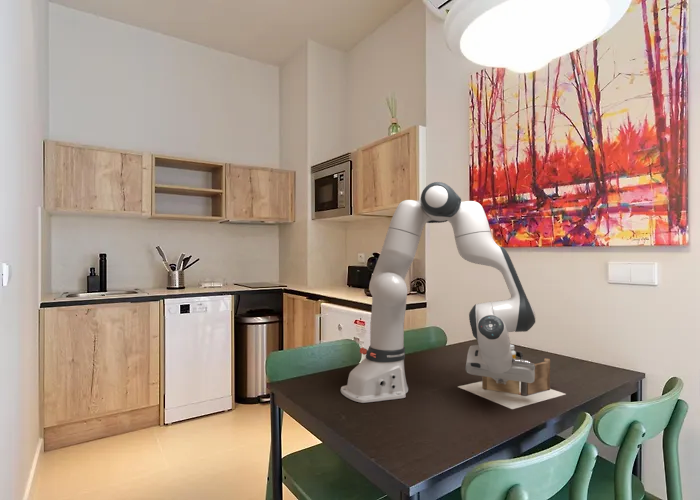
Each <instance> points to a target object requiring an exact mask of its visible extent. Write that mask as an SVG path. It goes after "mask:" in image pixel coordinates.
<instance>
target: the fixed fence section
mask: <svg viewBox="0 0 700 500" xmlns="http://www.w3.org/2000/svg"><path fill="white" fill-rule="evenodd" d="M543 359H544V360H543V361H542V362H538V363H534V365H535V370H534V371H535V380H534V382H532V383H527V382H521V395H522V396H527V395H530V394H533V393H537V392H541V391H545V390H550V389H551V359H550V358H543Z"/></svg>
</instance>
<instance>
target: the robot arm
mask: <svg viewBox="0 0 700 500" xmlns="http://www.w3.org/2000/svg"><path fill="white" fill-rule="evenodd" d="M447 222H449V223H450V225H451V227H452V231H453V235H454V240H455V245H456V248H457V251H458V254H459V255H460V257H461V258H463V259H464V260H465V261H467V262H469V263H472V264H475V265H482V266H487V267H491V268H493V269H496V270H498V271H499V272H500V273H501V275H502V278H503V279H504V282H505V284H506V287H507V289H508V292H509V294H510V297H509V298H508V299H504V300H503V299H502V300H496V301H488V302H487V301H486V302H480V303H475V304H474V305H473V306H472V307H471V309H470V311H469V313H468V316H469V317H468V318H469V319H468V320H469V326H470V328H471V332H472V336H473V337H474V338H475V339H476V340H477V343H478V344H473V345H470V346H469V348H468V350H467V356H466V362H465V363H466V364H465V372H466V373H467V374H469V375H471V376H472V375H473V376H480V377H482V376H486V377H492V378H493V379H494V380H495V381H496V383H500V384H506V382H507V381H508V380H513V381H520V382H527V383H532V382H534V380H535V371H534V370H535V365H534V364H535V363H533V362H531V361H530V360H527V359H523V360H522V359H514V358H512V351H511V348H510V344H511V339H510V334H509V333H513V332H514V333H519V332H520V333H521V332H524V333H525V332H529V330H531V328H533V326H534V325H535V324H536V313H535V310H534V307H533V306H532V303H531V302H530V301H529V299H528V297H527V295H526V292H525V290H524V287H523V285H522V282H521V281H520V277H519V276H518V273H517V271H516V267H515V265H514V264H513V261H512V260H511V257H510V255H509V253H508V251H507V249H506V248H505V247H504V246H500V245H499V244H497V243H496V242H495V239H494V238H493V235H492V232H491V228H490V224H489V221H488V218H487V215H486V212H485V210H484V208H483V205H481V204H480V203H479V202H477V201H474V200H467V201H466V200H465V201H462V198H461V196H459V194H458V193H457V192H456V191H455V190H454V189H453V188H452V187H451V186H450V185H448V184H447V183H445V182H442V181H441V182H440V181H435V182H431V183H429V184H427V185H426V187H424V188H423V190H422V192H421V194H420V199H419V200H414V199H405V200H402V201H401V202H399V204H398V206H397V207H396V208H395V210H394V213H393V215H392V217H391V220H390V222H389V225H388V228H387V233H386V235H385V237H384V238H385V239H384V240H383V241H384V242H383V245H382V248H381V250H380V254H379V255H378V258H377V261H376V263H375V265H374V266H375V267H374V269H373V272H372V275H371V278H370V280H369V286H368V289H369V292H370V294H371V297H372V299H371V315H370V316H371V317H370V330H369V331H370V333H369V334H370V335H369V336H370V337H369V338H370V339H369V341H370V342H369V344H370V345H369V346H368V348H365V347H360V349H359V353H360V354H361V355H364V356H365V358H364V359H363V360H362V361H361V362H360V363H359V364H357V365H356V366H355V367H354V368H353V369H352V370H351V371H349V374H348V379H347V384H346V385H342V386H341V387H340V393H341V394H342V395H343V396H344V397H345V398H347V399H349V400H351V401H354V402H358V403H362V404H364V403H373V402H382V401H390V400H398V399H404V398H406V394H407V393H408V392H409V386H408V384H407V379H406V372H405V358H406V348H405V346H404V344H405V343H404V341H405V339H404V336H405V334H404V331H405V329H404V328H405V316H406V309H407V299H408V287H407V286H408V285H407V283H406V281H405V280H406V276H407V274H408V272H409V270H410V267H411V266H412V263H413V262H414V259H415V257H416V254H417V250H418V246H419V243H420V241H421V236H422V233H423V230H424V228H425V225H426V224H439V223H447Z"/></svg>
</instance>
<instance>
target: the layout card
mask: <svg viewBox="0 0 700 500" xmlns="http://www.w3.org/2000/svg"><path fill="white" fill-rule="evenodd" d="M457 388H460V389H462V390H465V391H467V392H470V394H471V393H472V394H473V395H477V396H479V397H480V398H484V399H486V400H488V401H491V402H493V403H496V404H498V405H501V406H503V407H506V408H508V409H510V410H515V409H519V408H522V407H526V406H529V405H532V404H537V403H539V402H543V401H546V400H547V401H548V400H552V399H554V398H559V397H563V396H566V395H567V393H564V392H561V391H558V390H555V389H552V388H550V390H545V391H541V392H537V393H533V394H530V395H527V396H522V395H521V382H520V388H519V394H516V393H509V392H502V391H496V390H489V389H483V388H482V380H481V381H477V382H472V383H468V384H464V385H459V386H457Z"/></svg>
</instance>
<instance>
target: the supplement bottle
mask: <svg viewBox="0 0 700 500" xmlns="http://www.w3.org/2000/svg"><path fill="white" fill-rule="evenodd" d="M510 348H511V351H512V358H514V359H516V358H517V356H516V352H515V351H514V350H515V345H514V344H511V343H510Z"/></svg>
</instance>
